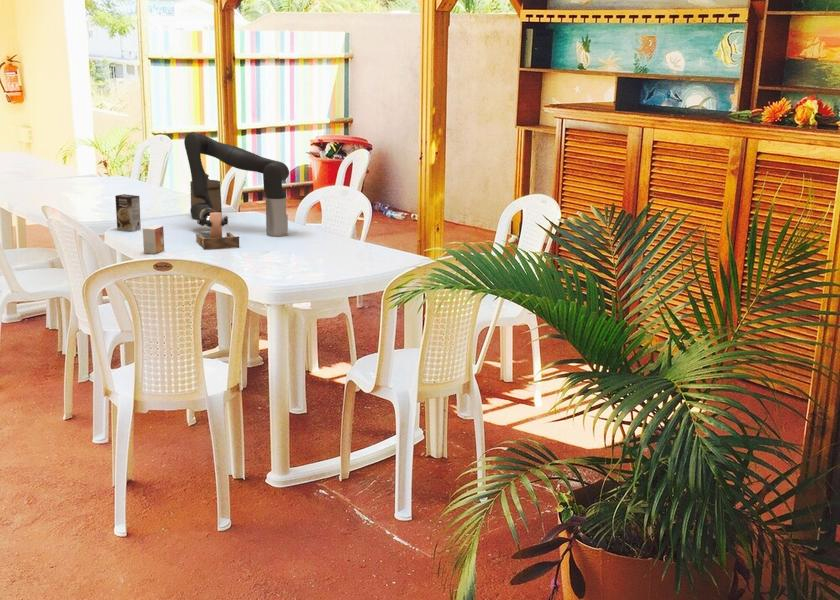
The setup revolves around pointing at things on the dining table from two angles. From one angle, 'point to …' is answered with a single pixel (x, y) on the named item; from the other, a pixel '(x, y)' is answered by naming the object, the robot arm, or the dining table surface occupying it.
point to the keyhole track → (218, 242)
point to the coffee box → (128, 212)
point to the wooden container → (210, 195)
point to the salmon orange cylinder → (215, 225)
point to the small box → (153, 239)
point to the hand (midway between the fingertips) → (217, 224)
